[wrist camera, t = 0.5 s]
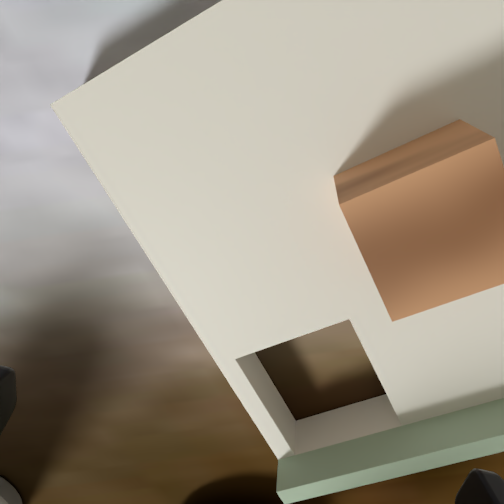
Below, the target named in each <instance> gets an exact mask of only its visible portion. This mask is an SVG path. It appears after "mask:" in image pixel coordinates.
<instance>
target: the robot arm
mask: <svg viewBox="0 0 504 504" xmlns="http://www.w3.org/2000/svg"><path fill="white" fill-rule="evenodd" d="M16 400H17V396H16V377H15V371H14V369H12V368H11V367H6V366H1V365H0V435H1V433H2V431H3V429H4V427H5V426H6V424H7V422H8V420H9V418H10V416H11V415H12V413H13V411H14V408H15V405H16ZM455 504H504V480H503V479H502V478H501V477H500V476H499V475H498V474H496V473H494V472H491V471H487V470H482V469H473V470H471V471H470V473H469V474H468V476H467V478H466V479H465V481H464V483H463V485H462V486H461V488H460V490H459V491H458V493H457V495H456V499H455Z"/></svg>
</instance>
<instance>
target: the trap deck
mask: <svg viewBox="0 0 504 504" xmlns="http://www.w3.org/2000/svg"><path fill="white" fill-rule="evenodd" d="M50 105H51V107H52V109H53V110H54V112H55V113H56V115H57V116H58V118H59V119H60V121H61V123H62V124H63V126H64V127H65V129H66V130H67V132H68V133H69V135H70V137H71V138H72V140H73V141H74V143H75V144H76V146H77V147H78V149H79V151H80V152H81V154H82V155H83V157H84V158H85V160H86V161H87V163H88V165H89V166H90V168H91V169H92V171H93V172H94V174H95V175H96V177H97V179H98V180H99V182H100V183H101V185H102V186H103V188H104V189H105V191H106V193H107V194H108V196H109V197H110V199H111V200H112V202H113V203H114V205H115V207H116V208H117V210H118V211H119V213H120V214H121V216H122V217H123V219H124V221H125V222H126V224H127V225H128V227H129V228H130V230H131V231H132V233H133V235H134V236H135V238H136V239H137V241H138V242H139V244H140V245H141V247H142V249H143V250H144V252H145V253H146V255H147V256H148V258H149V259H150V261H151V263H152V264H153V266H154V267H155V269H156V270H157V272H158V273H159V275H160V277H161V278H162V280H163V281H164V283H165V284H166V286H167V287H168V289H169V291H170V292H171V294H172V295H173V297H174V298H175V300H176V301H177V303H178V305H179V306H180V308H181V309H182V311H183V312H184V314H185V315H186V317H187V319H188V320H189V322H190V323H191V325H192V326H193V328H194V329H195V331H196V333H197V334H198V336H199V337H200V339H201V340H202V342H203V343H204V345H205V347H206V348H207V350H208V351H209V353H210V354H211V356H212V357H213V359H214V361H215V362H216V364H217V365H218V367H219V368H220V370H221V371H222V373H223V375H224V376H225V378H226V379H227V381H228V382H229V384H230V385H231V387H232V389H233V390H234V392H235V393H236V395H237V396H238V398H239V399H240V401H241V402H242V404H243V406H244V407H245V409H246V410H247V412H248V413H249V415H250V416H251V418H252V420H253V421H254V423H255V424H256V426H257V427H258V429H259V430H260V432H261V434H262V435H263V437H264V438H265V440H266V441H267V443H268V444H269V446H270V448H271V449H272V451H273V452H274V454H275V455H276V457H277V458H278V472H277V487H276V493H277V494H278V496H279V497H280V499H281V500H282V502H283V503H284V504H289V503H293V502H298V501H302V500H306V499H310V498H314V497H318V496H322V495H326V494H330V493H335V492H339V491H343V490H347V489H351V488H355V487H359V486H363V485H367V484H372V483H376V482H380V481H384V480H388V479H392V478H396V477H400V476H405V475H409V474H413V473H417V472H421V471H425V470H429V469H433V468H437V467H442V466H446V465H450V464H454V463H458V462H462V461H466V460H470V459H474V458H479V457H483V456H487V455H491V454H495V453H499V452H503V451H504V284H502V285H499V286H496V287H493V288H490V289H487V290H484V291H481V292H478V293H475V294H472V295H469V296H467V297H464V298H461V299H458V300H455V301H452V302H449V303H446V304H443V305H440V306H437V307H434V308H431V309H428V310H426V311H423V312H420V313H417V314H414V315H411V316H408V317H405V318H402V319H399V320H396V321H393V322H392V320H391V318H390V316H389V314H388V312H387V309H386V307H385V305H384V303H383V301H382V298H381V296H380V294H379V292H378V290H377V287H376V285H375V283H374V281H373V278H372V276H371V274H370V272H369V270H368V267H367V265H366V263H365V261H364V259H363V256H362V254H361V252H360V250H359V248H358V245H357V243H356V241H355V239H354V237H353V234H352V232H351V230H350V228H349V226H348V223H347V221H346V219H345V217H344V215H343V212H342V210H341V208H340V206H339V202H338V197H337V192H336V187H335V182H334V177H333V176H334V175H337V174H339V173H341V172H343V171H346V170H348V169H350V168H352V167H354V166H357V165H359V164H361V163H363V162H366V161H368V160H370V159H372V158H374V157H377V156H379V155H381V154H383V153H386V152H388V151H390V150H392V149H395V148H397V147H399V146H401V145H403V144H406V143H408V142H410V141H412V140H415V139H417V138H419V137H421V136H423V135H426V134H428V133H430V132H432V131H435V130H437V129H439V128H441V127H443V126H446V125H448V124H450V123H452V122H455V121H457V120H459V119H460V120H462V121H464V122H466V123H468V124H470V125H472V126H474V127H476V128H477V129H479V130H481V131H483V132H485V133H487V134H489V135H491V136H493V137H494V138H495V140H496V143H497V146H498V150H499V153H500V156H501V159H502V163H503V166H504V0H221V1H220V2H218V3H216V4H215V5H213V6H212V7H210V8H208V9H207V10H205V11H203V12H202V13H200V14H198V15H197V16H195V17H193V18H192V19H190V20H189V21H187V22H185V23H184V24H182V25H180V26H179V27H177V28H175V29H174V30H172V31H170V32H169V33H167V34H165V35H164V36H162V37H161V38H159V39H157V40H156V41H154V42H152V43H151V44H149V45H147V46H146V47H144V48H142V49H141V50H139V51H138V52H136V53H134V54H133V55H131V56H129V57H128V58H126V59H124V60H123V61H121V62H119V63H118V64H116V65H115V66H113V67H111V68H110V69H108V70H106V71H105V72H103V73H101V74H100V75H98V76H96V77H95V78H93V79H91V80H90V81H88V82H87V83H85V84H83V85H82V86H80V87H78V88H77V89H75V90H73V91H72V92H70V93H68V94H67V95H65V96H64V97H62V98H60V99H59V100H57V101H55V102H54V103H52V104H50ZM348 319H350V321H351V323H352V325H353V327H354V329H355V331H356V333H357V335H358V337H359V339H360V341H361V343H362V346H363V348H364V350H365V352H366V354H367V356H368V358H369V360H370V362H371V364H372V366H373V368H374V370H375V372H376V374H377V376H378V378H379V380H380V382H381V384H382V386H383V388H384V390H385V392H386V394H384V395H381V396H378V397H374V398H371V399H368V400H364V401H361V402H357V403H354V404H351V405H347V406H344V407H341V408H337V409H334V410H330V411H327V412H324V413H320V414H317V415H314V416H310V417H307V418H304V419H300V420H297V421H296V420H295V419H294V417H293V415H292V414H291V412H290V410H289V409H288V407H287V405H286V404H285V402H284V400H283V399H282V397H281V395H280V394H279V392H278V390H277V389H276V387H275V385H274V384H273V382H272V380H271V379H270V377H269V375H268V374H267V372H266V370H265V369H264V367H263V365H262V364H261V362H260V360H259V359H258V357H257V355H256V354H255V352H257V351H260V350H263V349H265V348H268V347H271V346H274V345H277V344H280V343H282V342H285V341H288V340H291V339H294V338H297V337H299V336H302V335H305V334H308V333H311V332H314V331H316V330H319V329H322V328H325V327H328V326H331V325H333V324H336V323H339V322H342V321H345V320H348Z"/></svg>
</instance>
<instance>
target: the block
mask: <svg viewBox="0 0 504 504" xmlns="http://www.w3.org/2000/svg"><path fill="white" fill-rule="evenodd" d="M333 177H334V182H335V187H336V192H337V197H338V202H339V206H340V208H341V210H342V212H343V215H344V217H345V219H346V221H347V223H348V226H349V228H350V230H351V232H352V234H353V237H354V239H355V241H356V243H357V245H358V248H359V250H360V252H361V254H362V256H363V259H364V261H365V263H366V265H367V267H368V270H369V272H370V274H371V276H372V278H373V281H374V283H375V285H376V287H377V290H378V292H379V294H380V296H381V298H382V301H383V303H384V305H385V307H386V309H387V312H388V314H389V316H390V318H391V320H392V322H393V321H396V320H399V319H402V318H405V317H408V316H411V315H414V314H417V313H420V312H423V311H426V310H428V309H431V308H434V307H437V306H440V305H443V304H446V303H449V302H452V301H455V300H458V299H461V298H464V297H467V296H469V295H472V294H475V293H478V292H481V291H484V290H487V289H490V288H493V287H496V286H499V285H502V284H504V166H503V163H502V159H501V156H500V153H499V150H498V146H497V143H496V140H495V138H494V137H493V136H491V135H489V134H487V133H485V132H483V131H481V130H479V129H477V128H476V127H474V126H472V125H470V124H468V123H466V122H464V121H462V120H460V119H459V120H457V121H455V122H452V123H450V124H448V125H446V126H443V127H441V128H439V129H437V130H435V131H432V132H430V133H428V134H426V135H423V136H421V137H419V138H417V139H415V140H412V141H410V142H408V143H406V144H403V145H401V146H399V147H397V148H395V149H392V150H390V151H388V152H386V153H383V154H381V155H379V156H377V157H374V158H372V159H370V160H368V161H366V162H363V163H361V164H359V165H357V166H354V167H352V168H350V169H348V170H346V171H343V172H341V173H339V174H337V175H334V176H333Z"/></svg>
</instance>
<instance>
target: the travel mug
mask: <svg viewBox="0 0 504 504" xmlns="http://www.w3.org/2000/svg"><path fill="white" fill-rule="evenodd" d="M0 504H22V500H21V497H20V495H19V494H18V492H17V491H16V489H15V488H14V487H13V486H12V485H11V484H10V483H9V482H8V481H6V480H5V479H4V478H2V477H1V476H0Z"/></svg>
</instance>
